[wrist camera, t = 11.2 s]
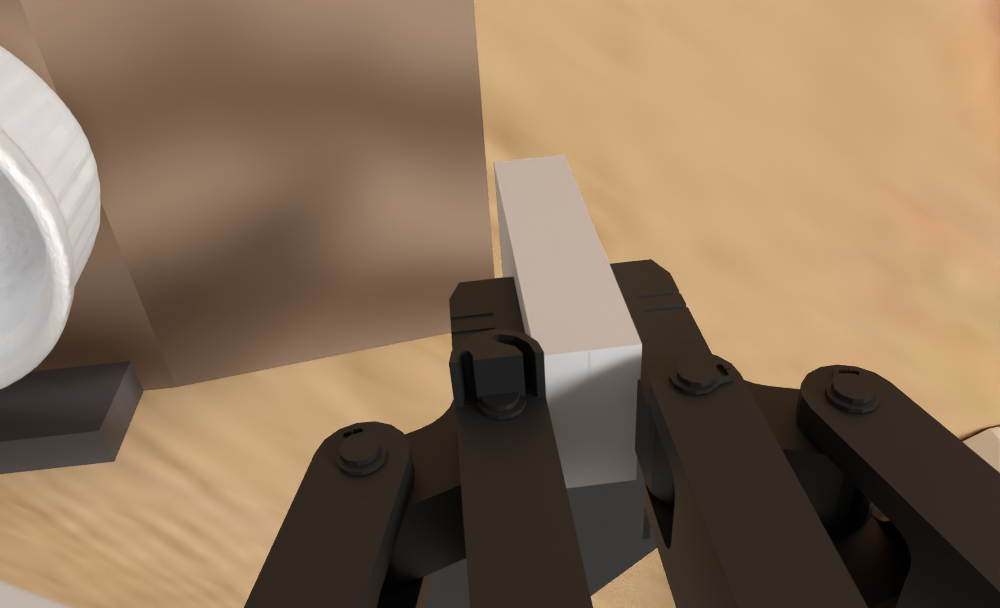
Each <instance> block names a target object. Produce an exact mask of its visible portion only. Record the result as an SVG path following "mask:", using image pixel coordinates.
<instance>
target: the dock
mask: <svg viewBox="0 0 1000 608" xmlns="http://www.w3.org/2000/svg"><path fill="white" fill-rule="evenodd" d="M0 46H2V47H3V48H5V49H6V50H7V51H9V52H10V53H11V54H13V55H14V56H15V57H17V58H18V59H19V60H21V61H22V62H23V63H24V64H26V65H27V66H28V67H29V68H30V69H31V70H33V71H34V72H35V73H36V74H37V75H38V76H39V77H40V78H42V79H43V80H44V81H45V82H46V84H47V85H48V86H49V87H50V88H51V89H52V90H53V91H54V92H55V93H56V94H57V95H58V97H59V98H60V99H61V100H62V101H63V102H64V104H65V105H66V107H67V108H68V109H69V110H70V112H71V113H72V115H73V116H74V117H75V119H76V120H77V122H78V123H79V124H80V126H81V128H82V130H83V132H84V134H85V135H86V137H87V140H88V142H89V145H90V148H91V151H92V153H93V155H94V158H95V161H96V165H97V172H98V177H99V182H100V202H101V206H100V225H99V230H98V233H97V235H96V239H95V243H94V246H93V249H92V251H91V254H90V256H89V258H88V260H87V262H86V265H85V267H84V269H83V271H82V273H81V275H80V277H79V279H78V281H77V283H76V285H75V287H74V297H73V301H72V305H71V309H70V312H69V316H68V319H67V322H66V324H65V327H64V329H63V331H62V334H61V336H60V337H59V339H58V341H57V343H56V344H55V346H54V347H53V349H52V350H51V352H50V353H49V354H48V355H47V356H46V357H45V359H44V360H43V361H42V362H41V363H40V364H39V365H38V366H37V367H36V368H34V369H33V370H32V371H31V372H29V373H28V374H27V375H25V376H24V377H23V378H21V379H19V380H17V381H16V382H14V383H12V384H11V385H9V386H7V387H5V388H3V389H0V474H5V473H14V472H23V471H32V470H41V469H50V468H59V467H68V466H77V465H86V464H96V463H105V462H114V461H115V459H116V456H117V454H118V451H119V449H120V446H121V444H122V442H123V439H124V437H125V434H126V432H127V430H128V427H129V425H130V422H131V420H132V417H133V415H134V413H135V410H136V408H137V405H138V403H139V400H140V398H141V396H142V393H143V391H144V390H153V389H163V388H172V387H179V386H184V385H189V384H194V383H199V382H204V381H209V380H214V379H219V378H224V377H229V376H234V375H239V374H244V373H249V372H255V371H260V370H265V369H270V368H275V367H280V366H285V365H290V364H295V363H300V362H305V361H310V360H315V359H320V358H325V357H330V356H335V355H340V354H345V353H350V352H355V351H360V350H365V349H371V348H376V347H381V346H386V345H391V344H396V343H401V342H406V341H411V340H416V339H421V338H426V337H431V336H436V335H441V334H446V333H451V320H450V307H449V299H450V297H451V295H452V294H453V292H454V290H455V289H456V287H457V285H458V284H459V282H468V281H477V280H486V279H495V278H494V264H493V251H492V238H491V225H490V212H489V198H488V185H487V172H486V159H485V145H484V132H483V119H482V106H481V92H480V79H479V66H478V53H477V39H476V26H475V13H474V0H0Z"/></svg>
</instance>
